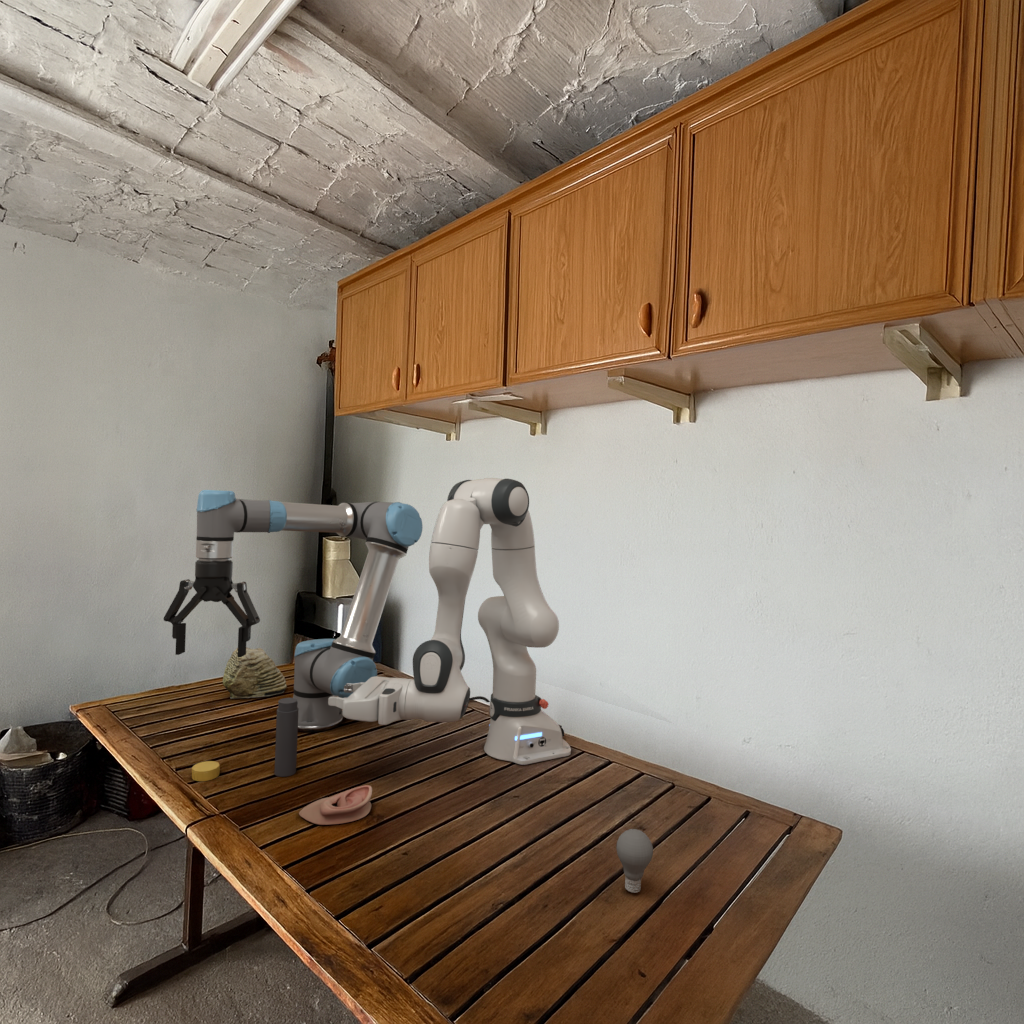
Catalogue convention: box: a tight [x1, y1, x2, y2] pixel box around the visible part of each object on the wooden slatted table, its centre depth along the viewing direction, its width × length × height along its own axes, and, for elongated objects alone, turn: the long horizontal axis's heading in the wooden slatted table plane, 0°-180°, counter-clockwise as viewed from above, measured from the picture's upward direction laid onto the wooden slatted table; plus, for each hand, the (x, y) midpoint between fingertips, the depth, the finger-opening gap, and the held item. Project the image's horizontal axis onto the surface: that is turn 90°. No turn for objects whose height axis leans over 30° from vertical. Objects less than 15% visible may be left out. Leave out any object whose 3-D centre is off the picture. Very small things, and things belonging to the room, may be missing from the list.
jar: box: [274, 697, 299, 778], centre depth 144 cm, size 5×5×16 cm
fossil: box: [222, 646, 288, 699], centre depth 198 cm, size 9×18×15 cm, turn 132°
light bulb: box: [615, 828, 654, 894], centre depth 106 cm, size 6×6×10 cm
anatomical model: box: [298, 784, 373, 826], centre depth 127 cm, size 13×4×12 cm
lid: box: [191, 760, 221, 782], centre depth 141 cm, size 6×6×2 cm
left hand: (211, 654), depth 141 cm, fingers open, 13 cm apart
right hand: (337, 693), depth 143 cm, fingers open, 8 cm apart
